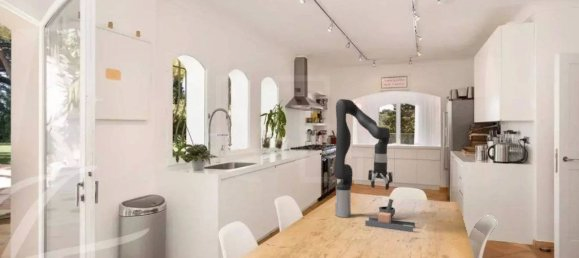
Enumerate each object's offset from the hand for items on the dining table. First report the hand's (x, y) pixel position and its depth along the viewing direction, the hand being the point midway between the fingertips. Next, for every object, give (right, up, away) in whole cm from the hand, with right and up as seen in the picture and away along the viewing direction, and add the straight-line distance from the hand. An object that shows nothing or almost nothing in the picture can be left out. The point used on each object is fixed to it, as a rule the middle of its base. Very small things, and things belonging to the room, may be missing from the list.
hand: (379, 188), depth 202 cm
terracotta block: (+1, -21, -4) cm, 21 cm away
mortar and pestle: (+8, -22, +13) cm, 27 cm away
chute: (+4, -22, -6) cm, 23 cm away
